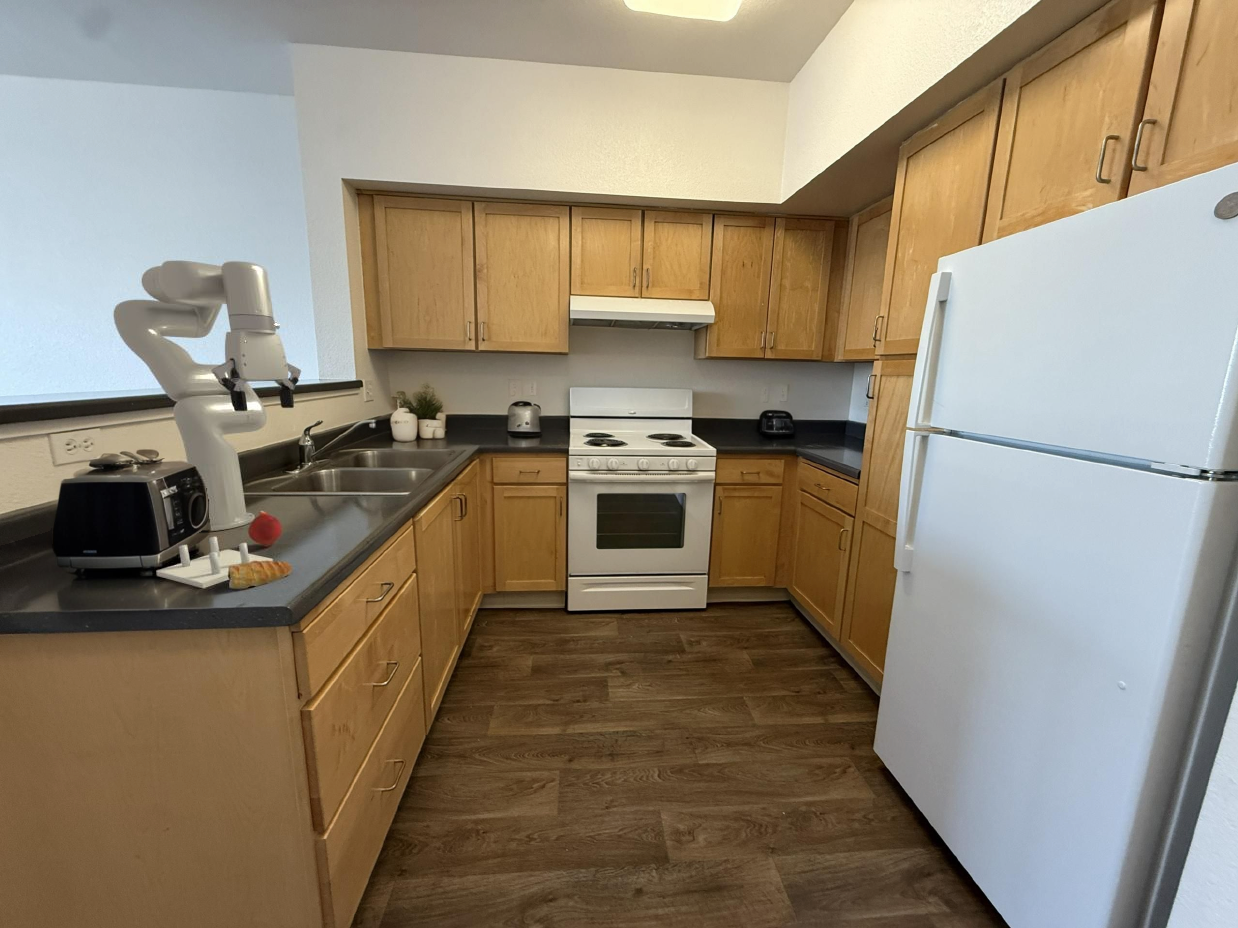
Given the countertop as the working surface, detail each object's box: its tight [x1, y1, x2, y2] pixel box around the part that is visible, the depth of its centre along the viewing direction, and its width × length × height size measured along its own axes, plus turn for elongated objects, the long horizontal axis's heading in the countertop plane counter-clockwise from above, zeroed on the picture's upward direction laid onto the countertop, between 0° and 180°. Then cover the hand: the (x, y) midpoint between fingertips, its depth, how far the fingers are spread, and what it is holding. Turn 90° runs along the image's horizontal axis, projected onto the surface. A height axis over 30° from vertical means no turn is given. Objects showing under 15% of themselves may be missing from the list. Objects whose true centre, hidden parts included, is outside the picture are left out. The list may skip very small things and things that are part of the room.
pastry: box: [228, 560, 292, 590], centre depth 88 cm, size 9×7×4 cm
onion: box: [247, 510, 283, 547], centre depth 105 cm, size 6×6×8 cm
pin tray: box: [156, 536, 274, 589], centre depth 93 cm, size 14×12×5 cm
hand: (265, 409), depth 103 cm, fingers open, 9 cm apart
